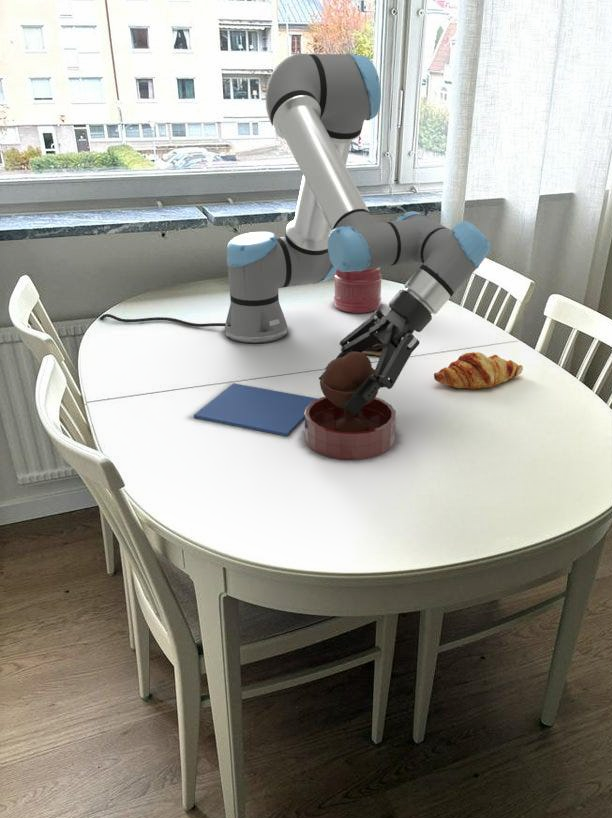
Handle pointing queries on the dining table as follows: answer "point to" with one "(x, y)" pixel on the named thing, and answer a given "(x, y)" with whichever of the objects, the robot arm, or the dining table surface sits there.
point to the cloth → (257, 409)
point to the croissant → (477, 371)
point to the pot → (350, 444)
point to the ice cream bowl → (346, 385)
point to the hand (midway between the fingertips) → (336, 396)
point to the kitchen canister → (358, 290)
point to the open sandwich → (374, 350)
